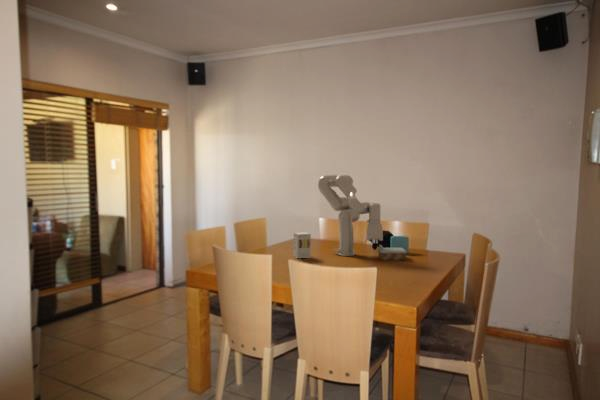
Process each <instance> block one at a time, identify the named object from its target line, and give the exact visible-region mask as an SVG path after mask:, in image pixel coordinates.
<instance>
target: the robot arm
mask: <svg viewBox="0 0 600 400" xmlns="http://www.w3.org/2000/svg"><path fill="white" fill-rule="evenodd" d="M353 184H354V180H353V177H352V176H350V175H347V174H346V175H343V174H342V175H341V174H339V175H338V174H336V175H335V174H334V175H333V174H332V175H329V174H326V175H323V176H321V177H319V180H318V183H317V185H318V189H319V191H320V194H321V195H322V196H323V197H324V198H325V200H326V201H327V202H328V204H329V206H330V207H331V208H332V210H334V211H336V212H339V213H338V216H337V217H338V219H337V220H338V224H339V247H338V248H333V249H332V252H335V253H337V255H338V256H340V257H341V256H343V257H352V256H353V257H354V256H356V252H355V251H354V226H353V223H355V222H357V221H359V220H360V217H361V216H360V215H366V214H368V219H366V223H367V228H366V241H368V242H370V243H372V244H371V248H372V249H373V250H377V249H378V247H377V243H378V242H379V241H382V240H383V224H382V223H381V204H380V203H376V202H373V203H372V202H361V201H359V199H358V198H357V197H356V193H357V188H356V187H355V186H354V185H353ZM333 188H338V189H339V190H340V191H341V192H342V194H343V195H344V197H340V196H339V195H338V193H337V192H336V191H335V190H334V189H333ZM375 239H376V240H375Z"/></svg>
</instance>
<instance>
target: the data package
mask: <svg viewBox="0 0 600 400" xmlns="http://www.w3.org/2000/svg"><path fill="white" fill-rule="evenodd" d="M409 239H410V238H409V237H408V236H407V235H393V236H391V238H390V248H403V249H404V250H405V251H406V255H407V254H409V252H410V251H409V249H410V248H409V244H410V243H409V241H410V240H409Z"/></svg>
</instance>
